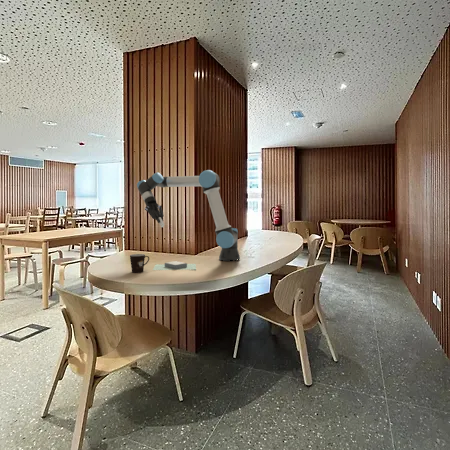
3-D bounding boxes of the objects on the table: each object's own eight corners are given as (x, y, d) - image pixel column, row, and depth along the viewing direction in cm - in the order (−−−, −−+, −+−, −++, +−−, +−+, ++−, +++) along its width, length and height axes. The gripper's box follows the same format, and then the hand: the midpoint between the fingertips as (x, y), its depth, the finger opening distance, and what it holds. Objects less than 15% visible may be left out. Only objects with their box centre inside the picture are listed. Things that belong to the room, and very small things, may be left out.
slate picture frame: (164, 262, 196) (175, 265, 188) (176, 260, 202) (186, 263, 195) (164, 266, 196) (175, 269, 188) (176, 265, 202) (186, 267, 195)
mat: (195, 264, 207) (195, 263, 207) (196, 270, 189) (196, 269, 189) (155, 265, 204) (155, 264, 204) (152, 271, 186) (152, 270, 186)
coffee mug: (130, 273, 178) (130, 256, 178) (129, 271, 186) (129, 254, 186) (151, 272, 183) (151, 255, 182) (149, 269, 191) (149, 253, 190)
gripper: (155, 202, 224) (168, 228, 215) (139, 203, 215) (152, 230, 206) (159, 195, 220) (173, 221, 211) (142, 196, 211) (156, 223, 202)
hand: (162, 225), depth 209 cm, fingers closed
